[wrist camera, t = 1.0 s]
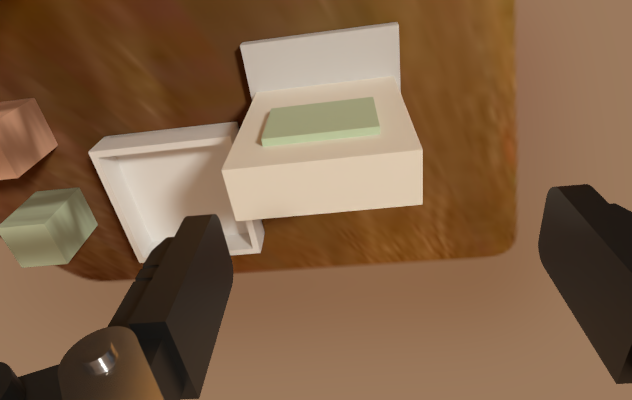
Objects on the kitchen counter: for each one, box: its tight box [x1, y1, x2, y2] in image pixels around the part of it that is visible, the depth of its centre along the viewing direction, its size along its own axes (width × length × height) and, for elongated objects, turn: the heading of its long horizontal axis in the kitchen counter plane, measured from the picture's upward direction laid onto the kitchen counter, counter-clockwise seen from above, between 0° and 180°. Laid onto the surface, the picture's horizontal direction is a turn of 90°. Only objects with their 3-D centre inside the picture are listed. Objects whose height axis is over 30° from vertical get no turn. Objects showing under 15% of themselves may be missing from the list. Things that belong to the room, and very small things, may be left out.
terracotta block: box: [0, 98, 58, 180], centre depth 36 cm, size 4×4×6 cm
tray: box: [88, 122, 265, 263], centre depth 40 cm, size 12×12×3 cm
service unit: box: [221, 22, 423, 221], centre depth 30 cm, size 9×12×14 cm
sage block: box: [0, 187, 98, 268], centre depth 41 cm, size 4×4×6 cm
